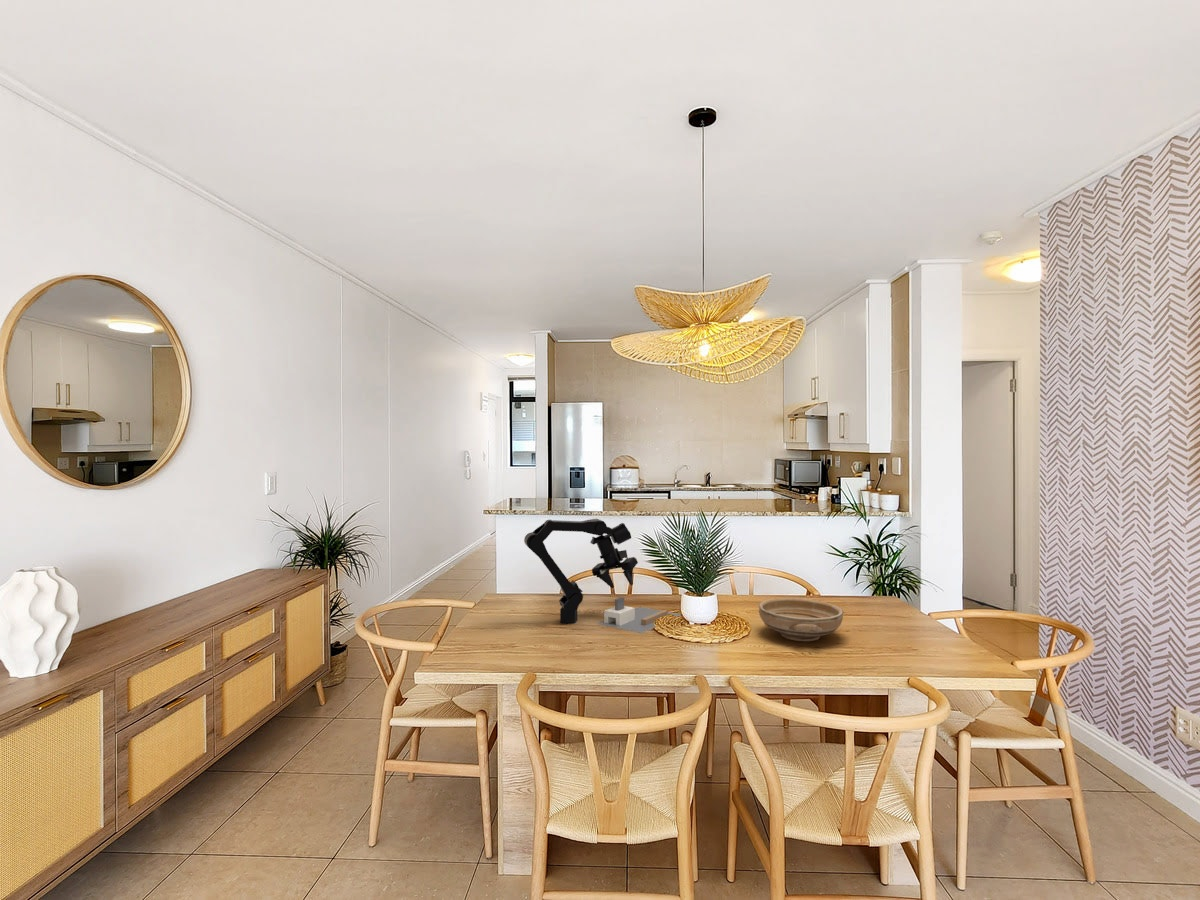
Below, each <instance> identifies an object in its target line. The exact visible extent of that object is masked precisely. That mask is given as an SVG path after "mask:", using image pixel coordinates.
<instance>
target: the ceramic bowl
mask: <svg viewBox="0 0 1200 900" xmlns="http://www.w3.org/2000/svg"><path fill="white" fill-rule="evenodd" d="M758 614H759V616H760V619H761V621H762V622H763V623H764V624H765V626H767V627H768V628H770V629H771V630H773V631H776V632H778V633H780V636H781V637H783V638H785V639H787V640H791V641H795V642H815V641H817V640H819V639H820V637H823V636H827V635H829V634H832V633H834V632H835V631H837V630H838V629H839V628H840V626H841V625H842V622H843V619H844V610H843V609H842V608H841V607H840V606H837V605H835V604H833V603H829V602H825V601H821V600H816V599H809V598H800V597H780V598H771V599H766V600H763V601H761V602H759V603H758Z"/></svg>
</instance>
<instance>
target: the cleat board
mask: <svg viewBox="0 0 1200 900" xmlns="http://www.w3.org/2000/svg"><path fill="white" fill-rule="evenodd" d="M668 614H672V615H674V616H679V617H682V616H681V613H676V612H672V611H671V612H669V611H668V610H665V609H663V610H660V609H654V608H653V609H652V608H648V607H641V606H638V607H636V608H635V620H633V621H630V622H628V623H625V624H623V625H620V626H619V625H616V620H615V621H613V622H610V623H604V620H603V621H600V622H597V623H596V625H599V626H605V627H609V628H614V629H619V630H624V631H629V632H634V633H638V634H644V633H645V632H648V631H650V630H652V629H655V628H656V627H655V625H654V621H655V620H656V619H658V618H660V617H663V616H666V615H668Z"/></svg>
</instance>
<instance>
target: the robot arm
mask: <svg viewBox="0 0 1200 900" xmlns="http://www.w3.org/2000/svg"><path fill="white" fill-rule="evenodd" d="M552 532H580V533H581V532H582V533H586V534H590V535H593V536H591V537H592V538H591V540H590V544H591V545H595V544H596V546H597V548H598V550H599V553H600V556H599V558H600V559H601V560H603V562H599V563H597V564H596V565H595V566H594V567H592V568H591V573H592V575H593V577H596V578H599V579H600V580H601V581H603V582H604V583H605V584H606V585H607V586H608V587H609V588H611V589H614V588H615V586H614V581H613V579H612V576H611V575H610V570H616V569H621V570H623V571H622V574H623V575H624V577H625V579H626V580H627V582H628V583H629V585H630V586H633V585H634V568H635V567H636V566H637V564H639V561H638V560H637V558H636V557H635V556H632V557H628V553H627V551H628V550H627V549H624V550H619V549H618V547H616V548H615V546H614V544H616V545H621V544H622V543H625V542H627V541H629V540H630V539H632V534H631V532H630V530H629V528H627V526H626V524H625V523H623V522H621V523H619V524H618V525H616V526H614V527H610V526H607V524H606V522H605V521H603V520H601V519H598V518H591V519H586V520H581V521H580V520H557V519H556V520H552V519H547V520H545V521H544V523H543V522H542V524H541V525H539V526H538V527H536V528H535V529H534V530H533V531H531V532H528V533H527V534H525V536H524V540H523V542H524V544H525V546H526V547H527V548H529V550H530V551H531V552H533V554H534V555H536V556H537V557H538V558H539V559H540V561H541V562H542V563H543V565H544V566H545V568H546V569H547V570H548V571H549V573H550V574H551V575H552V578H553V579H554V580H555V581H556V582H557V583H558V585H559V587H560V589H561V592H562V594H563V595H562V597H560V599H559V600H558V603H559V606H561V607H560V609H559V613H560V615H559V622H560V624H562V625H573V624H576V623H577V621H578V609H579V607H580V604H582V602H583V599H584V595H583V592H584V591H583V590H582V589H581V588H580V587H579V585H578V583H577V582H576V581H575V580H574V579H573V580H571V581H570V580H569V579H568V578H567V577H566V575H565V574H564V573H563V571H562V570H561V568H560V567H559V565H558V564H557V563H556V561H555V560H554V559H553V558H552V556H551V555H550V554H549V552H548V550H547V548H546V545H545V543H544V541H545V540H546V539H547V538H548V537H549V536H550V535H551V533H552ZM594 535H596V537H595V536H594Z"/></svg>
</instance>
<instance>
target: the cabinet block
mask: <svg viewBox="0 0 1200 900" xmlns="http://www.w3.org/2000/svg"><path fill="white" fill-rule="evenodd" d="M635 609H636V608H635V607H634V606H633V607H632V606H626V605H625V597H622V596H621V597H618V598H615V599H614V606H613V607H610V608H608V609H605V610H604V611H603V613H604V614H603V615H604V617H603V618H604V619H603V621H604V623H610V622H613V621H615V620H616V625H619V626H620V625H623V624H625V623H628V622H630V621H633V620H635Z"/></svg>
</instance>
